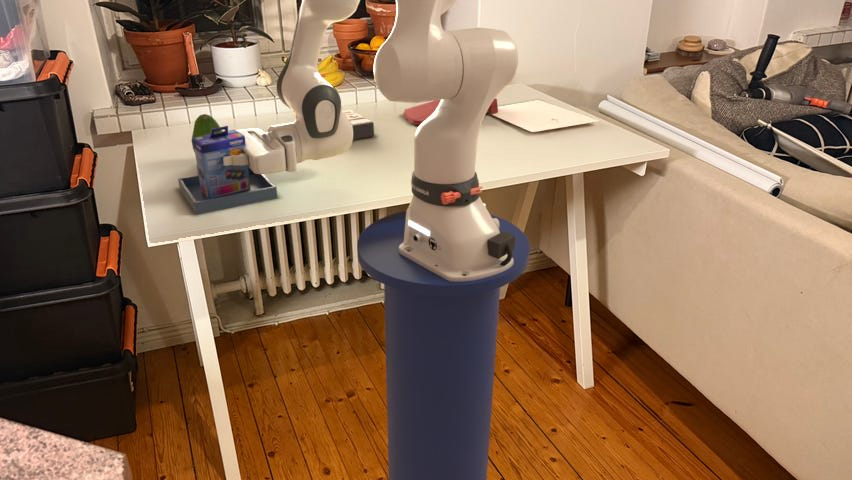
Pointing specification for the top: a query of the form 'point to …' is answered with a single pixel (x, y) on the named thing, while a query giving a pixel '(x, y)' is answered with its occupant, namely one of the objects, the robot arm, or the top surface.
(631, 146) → the top surface
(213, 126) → the avocado
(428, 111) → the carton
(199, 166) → the ink cartridge box
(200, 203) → the tray
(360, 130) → the dark grey package
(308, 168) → the top surface
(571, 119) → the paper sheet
